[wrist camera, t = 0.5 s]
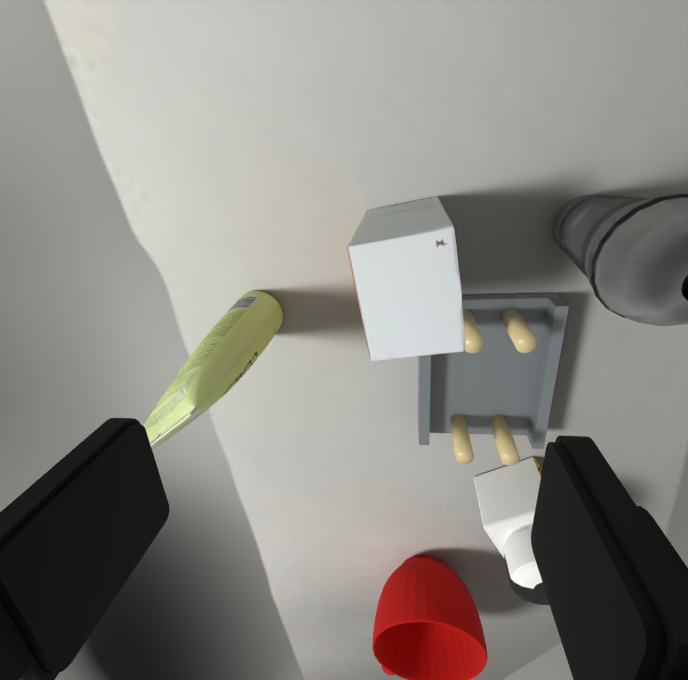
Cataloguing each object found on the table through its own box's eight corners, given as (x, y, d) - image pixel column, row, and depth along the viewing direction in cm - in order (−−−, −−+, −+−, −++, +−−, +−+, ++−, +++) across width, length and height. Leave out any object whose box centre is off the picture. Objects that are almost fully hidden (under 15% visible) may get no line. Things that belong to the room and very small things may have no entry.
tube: (282, 344, 42) (195, 487, 25) (235, 335, 42) (117, 470, 25) (286, 293, 39) (192, 414, 22) (236, 284, 40) (105, 396, 22)
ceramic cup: (348, 590, 59) (338, 669, 50) (408, 525, 51) (408, 605, 42) (424, 624, 60) (428, 708, 51) (494, 566, 52) (512, 653, 44)
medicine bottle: (558, 498, 46) (604, 605, 35) (498, 515, 49) (524, 621, 38) (533, 454, 44) (575, 555, 33) (472, 475, 46) (492, 575, 36)
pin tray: (419, 296, 38) (421, 325, 32) (556, 292, 36) (585, 323, 30) (418, 425, 44) (420, 469, 38) (534, 428, 42) (555, 475, 36)
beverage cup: (528, 194, 33) (674, 259, 15) (629, 162, 31) (934, 193, 13) (541, 277, 35) (678, 415, 18) (634, 252, 33) (892, 379, 16)
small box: (365, 209, 35) (344, 243, 23) (439, 194, 34) (456, 223, 22) (380, 296, 38) (369, 364, 27) (449, 286, 37) (468, 352, 25)
